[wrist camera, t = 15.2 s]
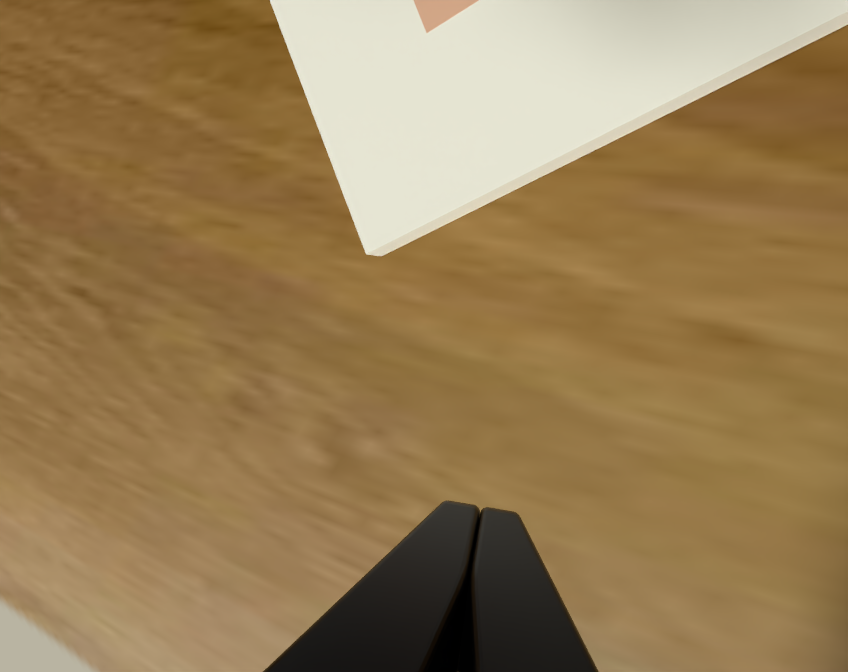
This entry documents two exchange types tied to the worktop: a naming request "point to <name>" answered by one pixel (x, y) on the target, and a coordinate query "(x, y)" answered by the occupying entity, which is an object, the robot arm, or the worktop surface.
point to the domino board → (509, 87)
